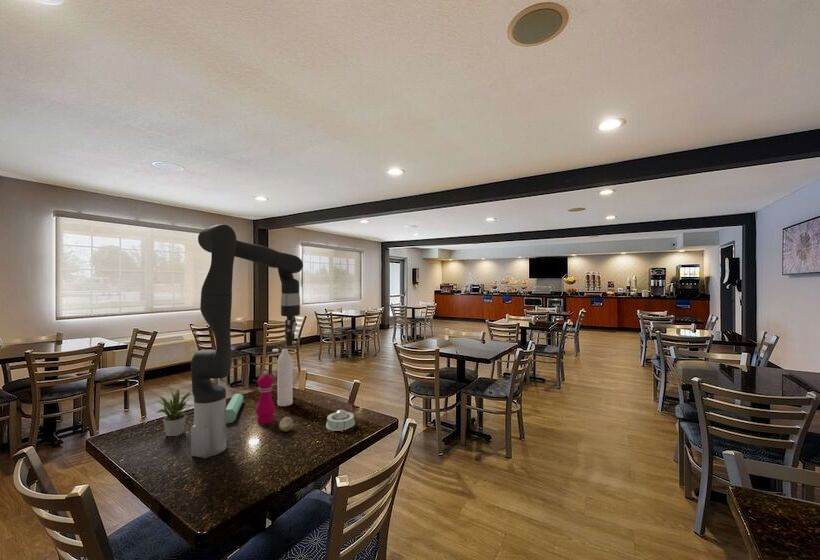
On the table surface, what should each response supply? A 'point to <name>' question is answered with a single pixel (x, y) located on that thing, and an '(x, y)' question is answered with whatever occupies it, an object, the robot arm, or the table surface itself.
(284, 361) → the water bottle
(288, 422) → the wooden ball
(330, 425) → the ring cup
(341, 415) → the steel ball
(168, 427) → the house plant
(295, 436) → the table surface
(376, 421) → the table surface
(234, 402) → the mint green faceted rod
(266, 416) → the pepper mill
